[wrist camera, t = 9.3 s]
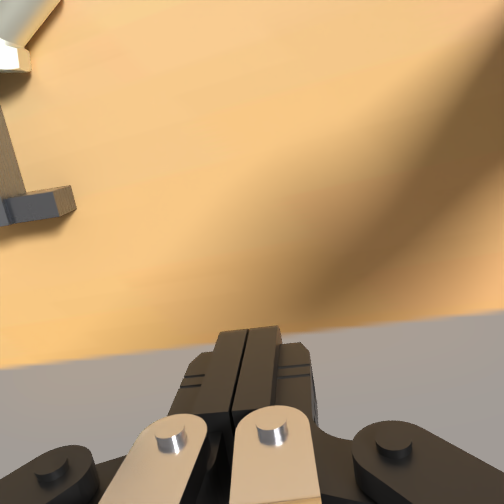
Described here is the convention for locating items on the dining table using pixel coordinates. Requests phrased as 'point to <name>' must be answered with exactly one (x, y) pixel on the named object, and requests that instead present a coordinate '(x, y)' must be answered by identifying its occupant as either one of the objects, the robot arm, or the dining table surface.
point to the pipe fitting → (20, 31)
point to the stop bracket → (15, 196)
